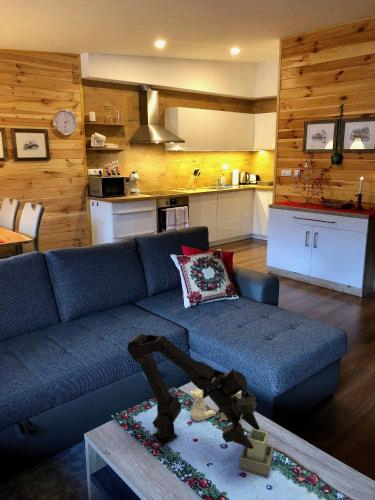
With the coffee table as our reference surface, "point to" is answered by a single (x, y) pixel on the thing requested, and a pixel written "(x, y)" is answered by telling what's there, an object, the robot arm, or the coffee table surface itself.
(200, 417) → the seated beast figurine
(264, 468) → the box
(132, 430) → the coffee table surface
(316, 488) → the coffee table surface
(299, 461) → the coffee table surface
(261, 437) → the beige open box
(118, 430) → the coffee table surface
